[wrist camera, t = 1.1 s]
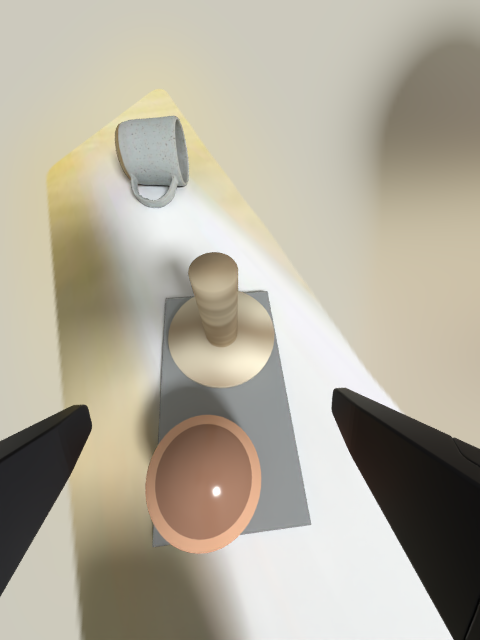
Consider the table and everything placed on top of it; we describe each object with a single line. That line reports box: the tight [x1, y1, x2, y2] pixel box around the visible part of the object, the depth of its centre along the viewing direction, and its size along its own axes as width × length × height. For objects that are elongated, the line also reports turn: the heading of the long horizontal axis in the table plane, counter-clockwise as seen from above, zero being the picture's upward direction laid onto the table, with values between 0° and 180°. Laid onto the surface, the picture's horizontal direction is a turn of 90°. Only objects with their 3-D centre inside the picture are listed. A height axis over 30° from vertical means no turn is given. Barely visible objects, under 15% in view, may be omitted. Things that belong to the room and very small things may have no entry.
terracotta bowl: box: [146, 415, 261, 554], centre depth 16 cm, size 7×7×4 cm
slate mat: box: [153, 291, 311, 547], centre depth 21 cm, size 20×11×1 cm, turn 6°
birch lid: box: [168, 252, 274, 388], centre depth 19 cm, size 10×10×10 cm
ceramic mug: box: [115, 116, 189, 208], centre depth 31 cm, size 11×8×8 cm
